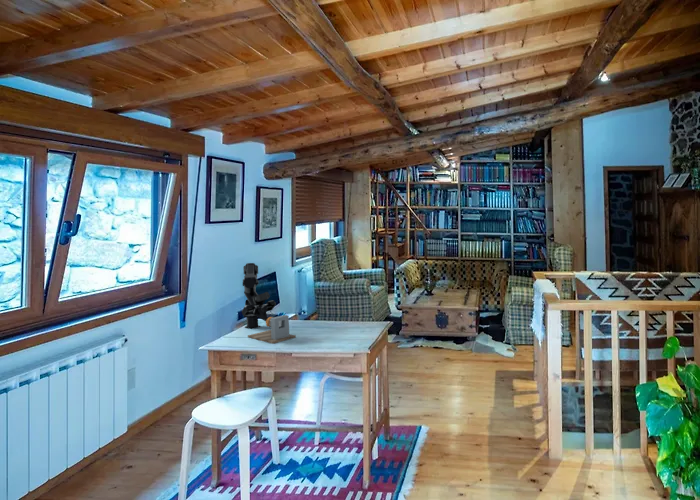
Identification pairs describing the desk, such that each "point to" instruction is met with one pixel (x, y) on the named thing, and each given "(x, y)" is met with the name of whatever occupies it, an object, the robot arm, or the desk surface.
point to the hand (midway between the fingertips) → (266, 320)
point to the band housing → (279, 331)
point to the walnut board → (268, 337)
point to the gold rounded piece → (270, 320)
